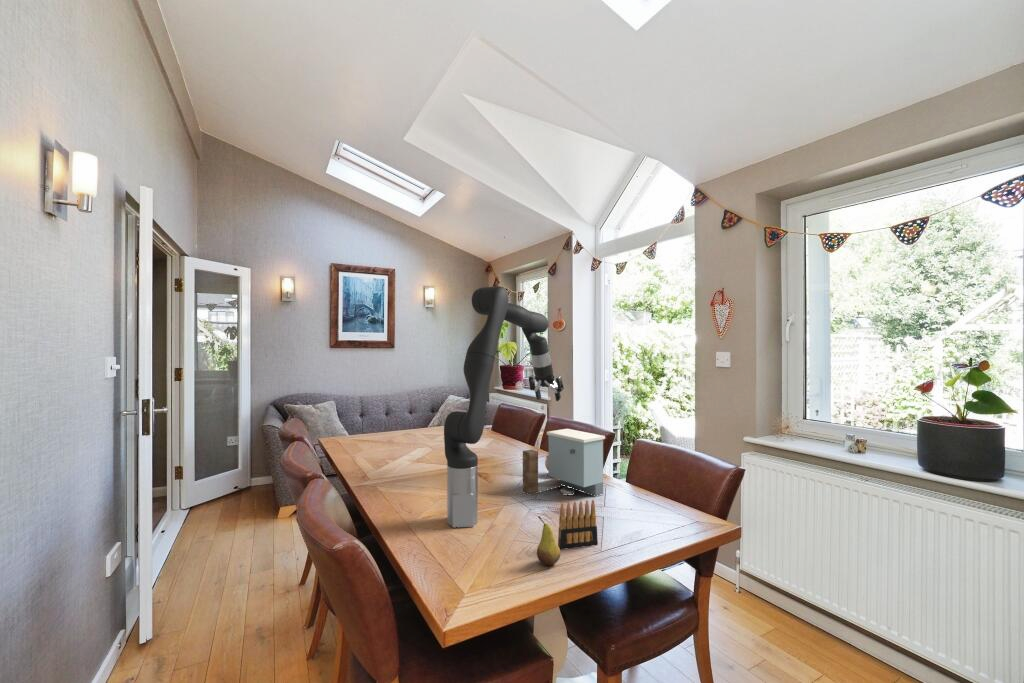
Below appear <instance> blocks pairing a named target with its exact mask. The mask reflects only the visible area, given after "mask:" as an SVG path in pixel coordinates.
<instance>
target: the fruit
mask: <svg viewBox="0 0 1024 683" xmlns="http://www.w3.org/2000/svg"><path fill="white" fill-rule="evenodd" d="M537 518H538V519H539V520H540V521H541V522H542V523H543V527H542V531H541V539H540V542H539V544H538V546H537V549H536V556H537V559H538V561H539V563H540V564H543V565H545V566H553V565H555V564H556V563H557V562H558V561H559V560H560V558H561V549H560V548H559V547H558V542H557V541H556V537H555V534H554V531H553V528H552V527H551V525H549V524H548V523H546V522H545V521H544V520H543V519H542V518H541V516H540V515H539V516H538V517H537Z"/></svg>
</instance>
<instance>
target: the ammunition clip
mask: <svg viewBox="0 0 1024 683" xmlns="http://www.w3.org/2000/svg"><path fill="white" fill-rule="evenodd" d="M559 509H560V510H559V519H558V521H559V522H558V524H559V527H558V535H557V536H558V538H557V545H558V547H559V549H560V550H566V549H565V548H568V549H574V547H577V548H583V547H582V546H586V547H591V545H594V546H598V545H599V540H598V539H599V538H598V525H597V514H596V512H597V511H596V504H595V500H594V499H592V500H591V503H590V504H589V501H588V499H586V501H585V505H584V504H583V501H582V500H580V501H579V505H578V504H577V501H576V500H574V501H573V505H572V508H571V502H570V501H567V504H566V509H565V504H564V502H561V504H560V508H559ZM565 510H566V511H565Z"/></svg>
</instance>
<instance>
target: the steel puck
mask: <svg viewBox="0 0 1024 683" xmlns="http://www.w3.org/2000/svg"><path fill="white" fill-rule="evenodd" d="M560 492H561V493H562V494H573V493H574V494H575V490H574V489H573V488H568V487H560ZM561 493H560V494H561ZM562 494H561V495H562Z"/></svg>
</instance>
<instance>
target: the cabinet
mask: <svg viewBox="0 0 1024 683" xmlns="http://www.w3.org/2000/svg"><path fill="white" fill-rule="evenodd" d="M546 435H547V436H548V455H549V471H548V477H552V478H553V479H555V478H556V479H559V480H561V484H562V485H565V486H569V487H572V488H574V489H577V490H581V491H584V492H586V493H589V494H592V495H595V496H597V495H600V494H603V495H604V440H605V439H606V436H605V435H602V434H597V433H591V432H587V431H581V430H577V429H571V428H563V429H556V430H550V431H546ZM562 485H561V486H562ZM565 486H564V487H565ZM577 490H576V491H577ZM586 493H585V494H586ZM589 494H588V495H589ZM592 495H591V496H592ZM595 496H594V497H595ZM600 496H601V495H600ZM597 497H598V496H597Z"/></svg>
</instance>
